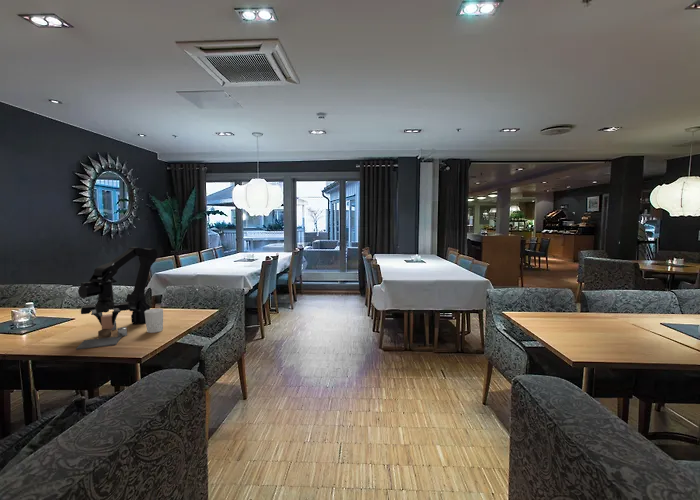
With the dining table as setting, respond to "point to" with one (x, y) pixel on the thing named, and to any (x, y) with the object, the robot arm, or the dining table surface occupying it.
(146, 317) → the white cup
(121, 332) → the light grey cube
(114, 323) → the slate block
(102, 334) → the walnut block
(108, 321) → the terracotta block
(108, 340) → the charcoal mat
